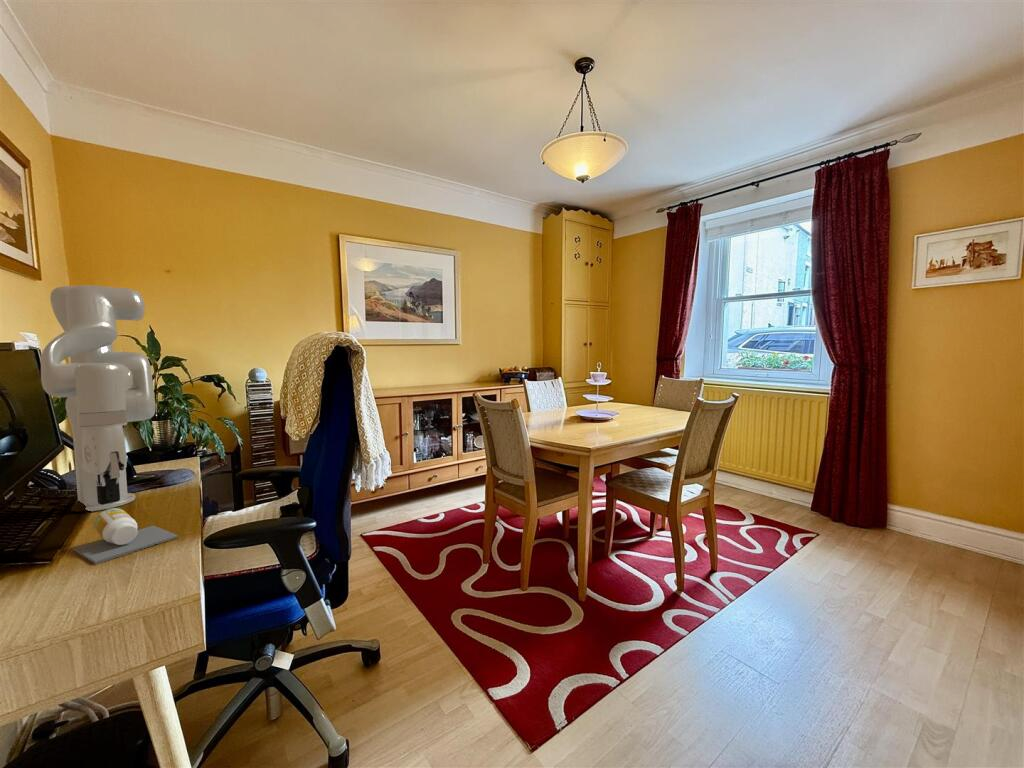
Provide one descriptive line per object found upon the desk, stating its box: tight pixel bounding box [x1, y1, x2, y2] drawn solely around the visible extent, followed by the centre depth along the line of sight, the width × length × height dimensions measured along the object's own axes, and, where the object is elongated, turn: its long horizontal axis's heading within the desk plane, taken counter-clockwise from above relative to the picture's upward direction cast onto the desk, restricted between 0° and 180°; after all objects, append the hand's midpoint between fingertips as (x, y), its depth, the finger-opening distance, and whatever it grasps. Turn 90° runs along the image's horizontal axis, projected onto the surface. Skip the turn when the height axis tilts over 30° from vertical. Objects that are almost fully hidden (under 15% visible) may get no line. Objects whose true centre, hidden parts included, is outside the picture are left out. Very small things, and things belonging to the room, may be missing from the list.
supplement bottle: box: [93, 507, 138, 545], centre depth 86 cm, size 5×5×10 cm
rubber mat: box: [73, 525, 179, 565], centre depth 86 cm, size 12×13×1 cm
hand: (109, 502), depth 89 cm, fingers closed
